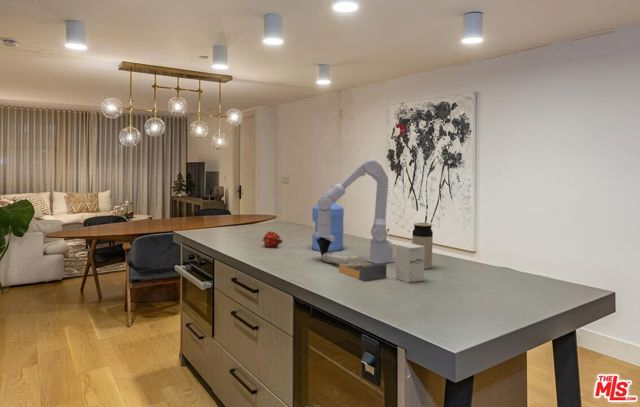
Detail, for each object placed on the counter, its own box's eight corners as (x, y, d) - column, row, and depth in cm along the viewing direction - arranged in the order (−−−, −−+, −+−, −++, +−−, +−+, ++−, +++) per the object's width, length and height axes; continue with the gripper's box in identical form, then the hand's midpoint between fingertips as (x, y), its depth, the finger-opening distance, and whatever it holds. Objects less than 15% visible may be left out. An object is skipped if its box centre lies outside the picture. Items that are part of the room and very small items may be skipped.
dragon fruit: (267, 247, 228) (278, 254, 218) (256, 239, 223) (267, 246, 213) (276, 234, 229) (288, 240, 220) (265, 226, 224) (277, 232, 215)
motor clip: (359, 268, 175) (359, 256, 174) (386, 277, 160) (386, 264, 160) (338, 271, 170) (338, 258, 169) (364, 281, 155) (364, 267, 155)
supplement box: (408, 283, 153) (409, 247, 152) (395, 278, 159) (396, 244, 158) (424, 280, 156) (425, 246, 155) (411, 276, 163) (412, 243, 162)
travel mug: (435, 267, 178) (436, 223, 177) (425, 270, 172) (426, 225, 171) (418, 264, 184) (419, 222, 182) (407, 267, 178) (409, 223, 176)
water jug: (348, 248, 220) (349, 192, 217) (333, 253, 206) (333, 194, 204) (322, 245, 228) (323, 191, 226) (305, 249, 215) (306, 193, 213)
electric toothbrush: (330, 251, 189) (363, 253, 167) (331, 266, 189) (364, 270, 167) (319, 252, 187) (352, 254, 165) (320, 268, 186) (353, 272, 165)
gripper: (308, 222, 192) (307, 253, 193) (324, 226, 180) (324, 259, 181) (321, 222, 196) (321, 251, 197) (339, 225, 183) (338, 257, 184)
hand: (324, 255), depth 189 cm, fingers closed
